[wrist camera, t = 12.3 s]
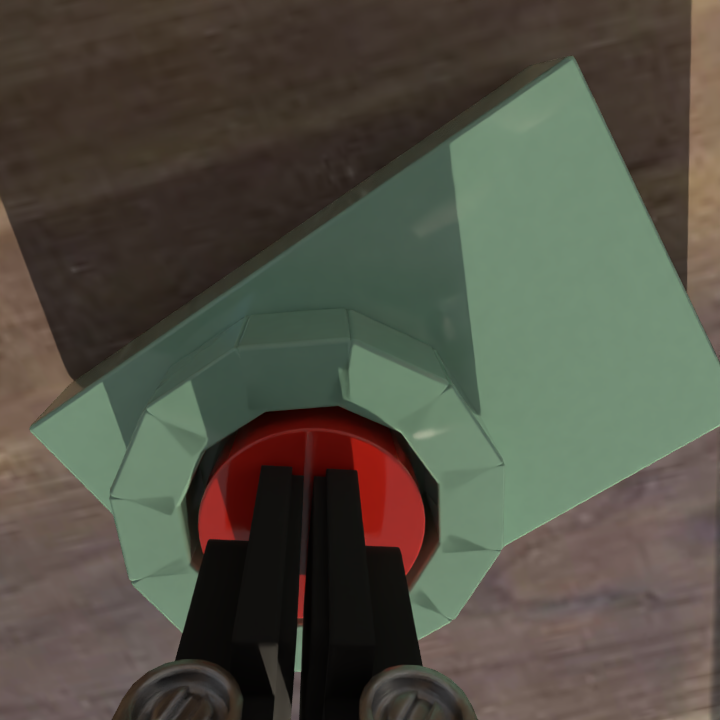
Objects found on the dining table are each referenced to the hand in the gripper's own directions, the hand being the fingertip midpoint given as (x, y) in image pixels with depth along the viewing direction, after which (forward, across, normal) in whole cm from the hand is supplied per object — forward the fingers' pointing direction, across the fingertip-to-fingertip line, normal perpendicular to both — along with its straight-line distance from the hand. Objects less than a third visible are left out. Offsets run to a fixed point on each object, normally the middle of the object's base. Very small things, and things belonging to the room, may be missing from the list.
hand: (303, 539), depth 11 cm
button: (+2, 0, 0) cm, 2 cm away
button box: (+4, -2, -1) cm, 5 cm away
